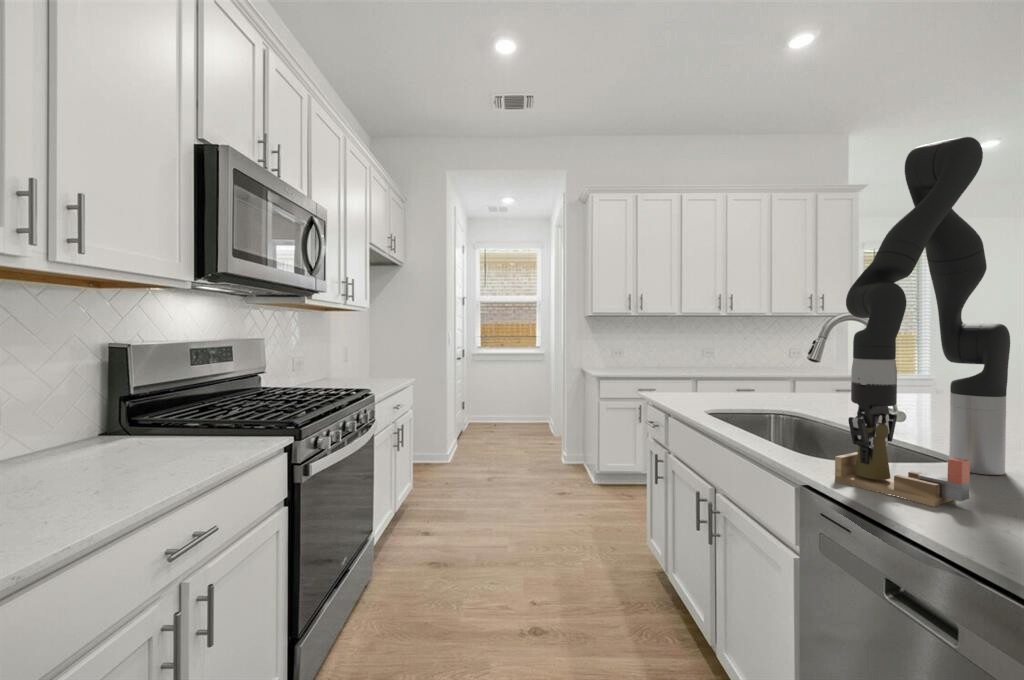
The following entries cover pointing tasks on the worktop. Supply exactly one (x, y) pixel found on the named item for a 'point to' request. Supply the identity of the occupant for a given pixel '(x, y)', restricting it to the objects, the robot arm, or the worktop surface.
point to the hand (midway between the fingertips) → (872, 464)
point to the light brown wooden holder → (889, 483)
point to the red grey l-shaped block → (952, 480)
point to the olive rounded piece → (875, 457)
